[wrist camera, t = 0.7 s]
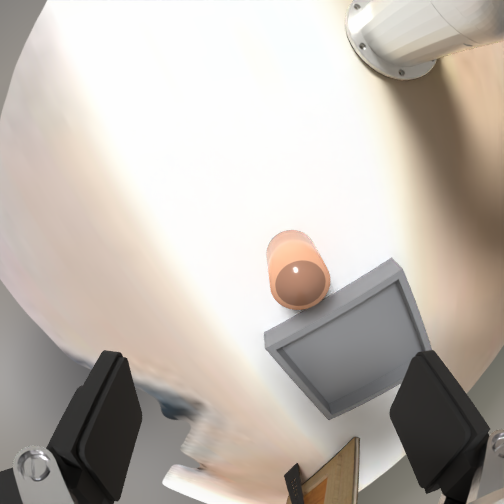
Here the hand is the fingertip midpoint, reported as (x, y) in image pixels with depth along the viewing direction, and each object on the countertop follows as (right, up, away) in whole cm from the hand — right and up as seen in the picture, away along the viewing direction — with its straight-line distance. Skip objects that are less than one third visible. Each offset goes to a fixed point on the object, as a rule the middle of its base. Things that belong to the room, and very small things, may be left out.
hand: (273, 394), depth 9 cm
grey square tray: (+15, -9, +34) cm, 38 cm away
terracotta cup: (+4, +4, +29) cm, 29 cm away
